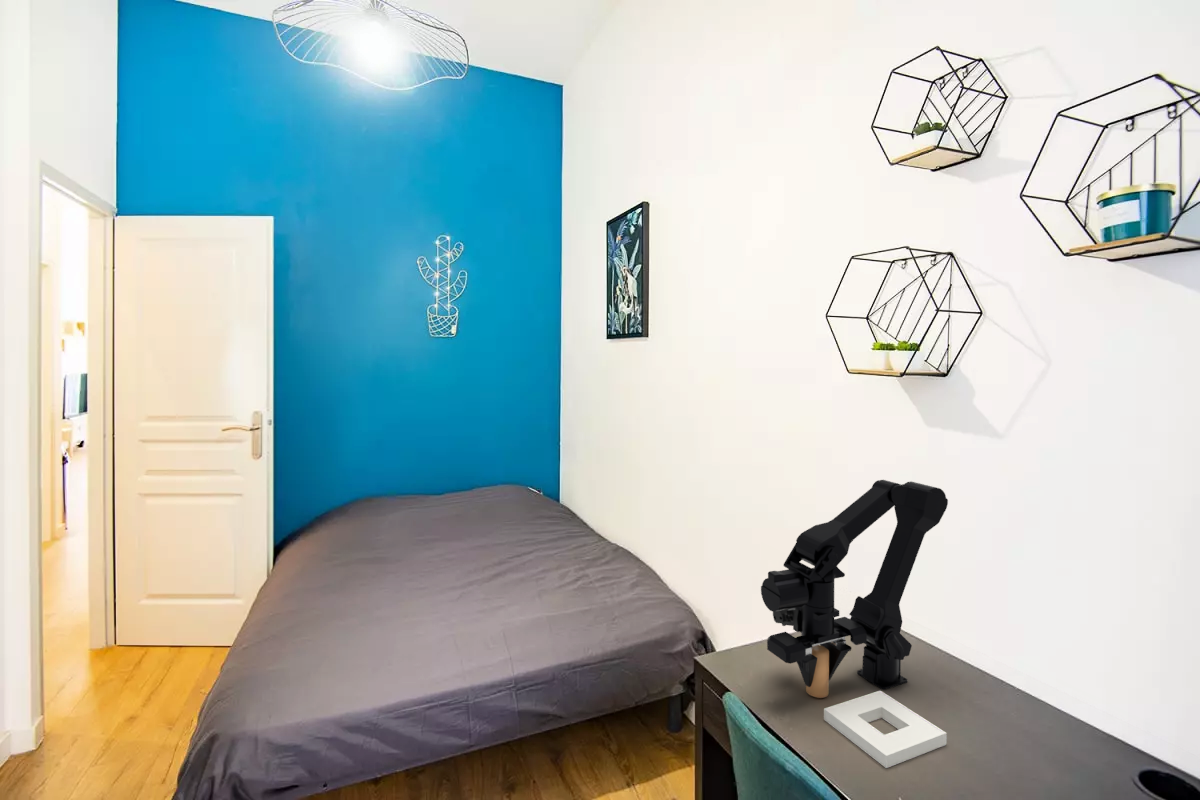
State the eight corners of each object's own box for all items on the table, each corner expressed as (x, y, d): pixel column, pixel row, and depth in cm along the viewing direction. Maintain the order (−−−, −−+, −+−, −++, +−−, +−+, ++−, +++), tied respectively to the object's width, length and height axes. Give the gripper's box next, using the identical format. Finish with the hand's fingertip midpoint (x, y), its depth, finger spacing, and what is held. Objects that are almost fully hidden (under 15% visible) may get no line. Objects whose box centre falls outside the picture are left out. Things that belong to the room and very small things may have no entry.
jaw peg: (817, 683, 111) (818, 642, 111) (833, 694, 108) (833, 652, 107) (801, 688, 110) (801, 647, 109) (816, 699, 106) (816, 657, 106)
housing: (880, 701, 106) (880, 690, 106) (946, 744, 94) (946, 732, 94) (823, 719, 101) (823, 708, 101) (886, 768, 89) (886, 755, 89)
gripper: (825, 577, 118) (824, 652, 120) (748, 594, 111) (748, 673, 113) (869, 598, 108) (868, 679, 109) (787, 618, 101) (788, 704, 102)
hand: (817, 682), depth 109 cm, fingers closed on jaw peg, 4 cm apart
